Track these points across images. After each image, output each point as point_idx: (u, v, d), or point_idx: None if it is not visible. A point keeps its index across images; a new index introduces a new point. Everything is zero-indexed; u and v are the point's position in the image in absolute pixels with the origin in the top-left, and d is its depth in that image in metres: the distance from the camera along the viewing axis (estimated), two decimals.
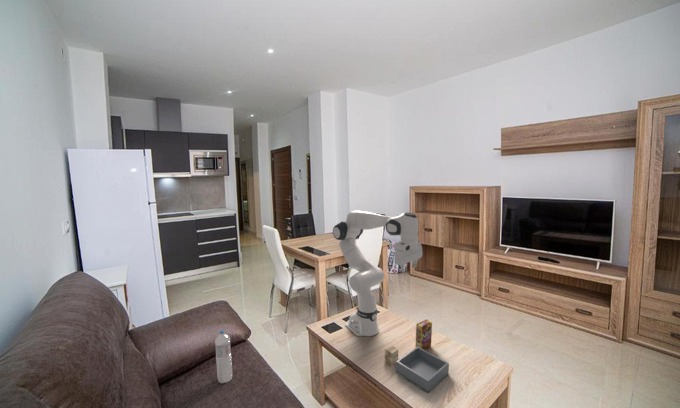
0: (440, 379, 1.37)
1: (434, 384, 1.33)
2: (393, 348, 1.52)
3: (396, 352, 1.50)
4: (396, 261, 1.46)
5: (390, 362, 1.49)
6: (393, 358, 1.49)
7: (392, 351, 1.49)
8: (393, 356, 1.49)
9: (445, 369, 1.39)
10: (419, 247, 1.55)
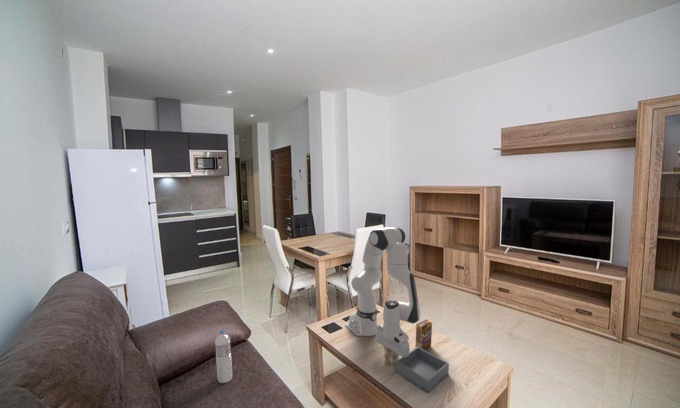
0: (440, 379, 1.37)
1: (434, 384, 1.33)
2: None
3: None
4: (406, 354, 1.43)
5: (390, 362, 1.49)
6: (393, 358, 1.49)
7: (392, 351, 1.49)
8: (393, 356, 1.49)
9: (445, 369, 1.39)
10: None
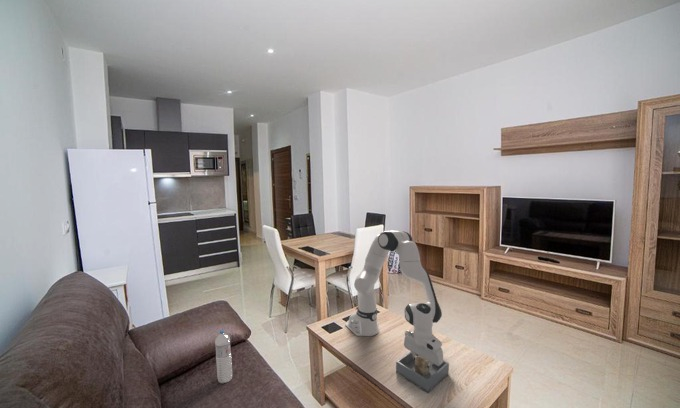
0: (440, 379, 1.37)
1: (434, 384, 1.33)
2: None
3: (427, 362, 1.41)
4: (440, 362, 1.34)
5: (421, 373, 1.40)
6: (424, 368, 1.39)
7: (423, 361, 1.40)
8: (424, 366, 1.39)
9: (445, 369, 1.39)
10: None
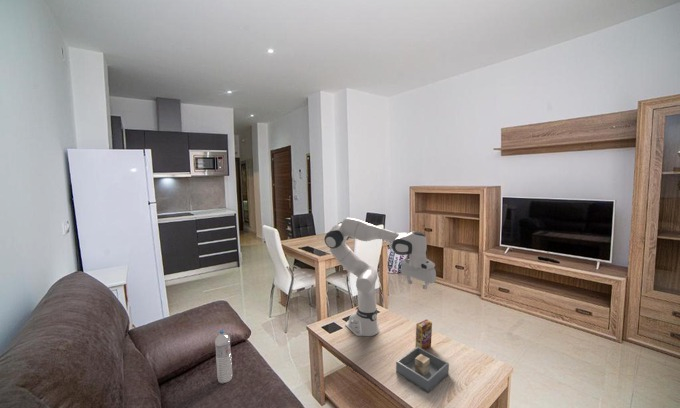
0: (440, 379, 1.37)
1: (434, 384, 1.33)
2: (424, 357, 1.42)
3: (427, 362, 1.41)
4: (433, 280, 1.48)
5: (421, 373, 1.40)
6: (424, 368, 1.39)
7: (423, 361, 1.40)
8: (424, 366, 1.39)
9: (445, 369, 1.39)
10: None
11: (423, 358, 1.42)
